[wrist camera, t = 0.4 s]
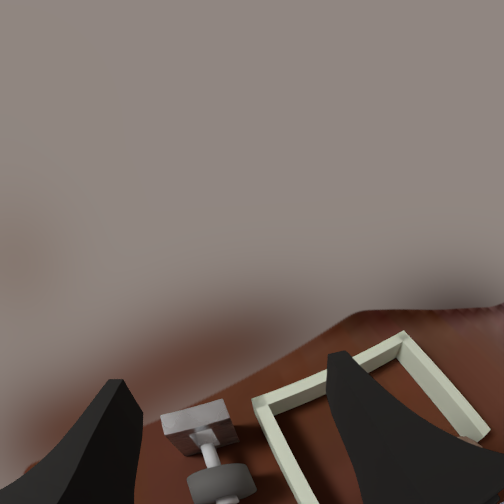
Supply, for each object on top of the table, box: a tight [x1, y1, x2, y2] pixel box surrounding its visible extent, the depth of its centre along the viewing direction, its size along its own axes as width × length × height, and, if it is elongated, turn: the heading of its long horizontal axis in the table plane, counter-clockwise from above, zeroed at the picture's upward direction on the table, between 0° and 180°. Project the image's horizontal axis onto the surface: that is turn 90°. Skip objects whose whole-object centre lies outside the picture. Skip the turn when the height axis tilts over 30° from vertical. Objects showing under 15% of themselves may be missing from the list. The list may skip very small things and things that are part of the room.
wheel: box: [187, 443, 257, 504], centre depth 19 cm, size 6×5×5 cm
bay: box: [251, 330, 491, 504], centre depth 22 cm, size 16×18×3 cm
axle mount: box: [161, 399, 239, 456], centre depth 23 cm, size 2×6×6 cm, turn 110°
